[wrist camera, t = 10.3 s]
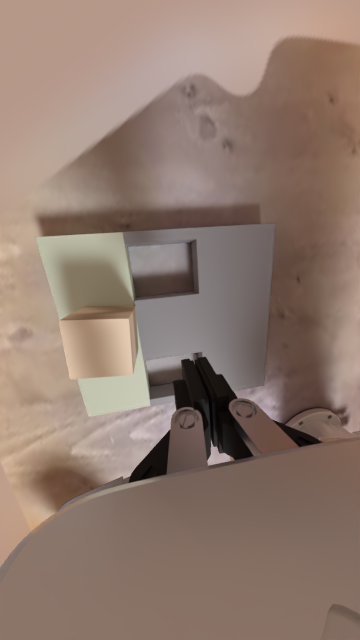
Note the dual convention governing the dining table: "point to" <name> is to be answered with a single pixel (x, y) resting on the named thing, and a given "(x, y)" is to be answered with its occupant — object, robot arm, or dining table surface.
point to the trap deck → (171, 304)
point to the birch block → (100, 341)
